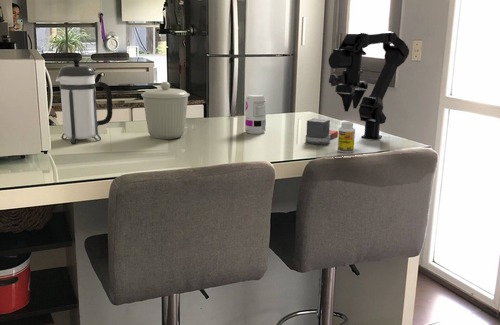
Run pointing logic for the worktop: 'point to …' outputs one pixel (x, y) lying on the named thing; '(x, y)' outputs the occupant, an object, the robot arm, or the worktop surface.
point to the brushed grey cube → (318, 128)
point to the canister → (165, 111)
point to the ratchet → (321, 141)
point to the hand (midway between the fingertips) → (350, 109)
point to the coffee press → (81, 102)
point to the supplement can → (255, 114)
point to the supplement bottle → (346, 137)
